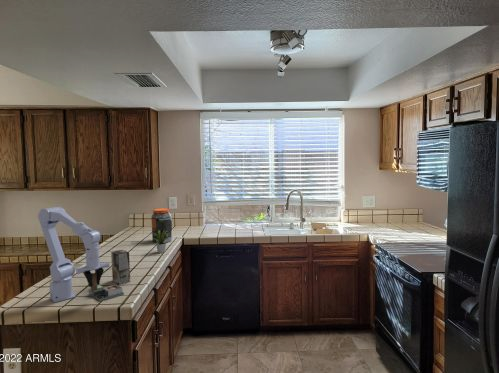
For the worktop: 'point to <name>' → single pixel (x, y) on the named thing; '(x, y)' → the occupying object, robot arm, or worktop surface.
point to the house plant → (161, 241)
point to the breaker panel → (107, 293)
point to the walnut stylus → (94, 281)
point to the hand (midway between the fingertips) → (94, 285)
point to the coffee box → (120, 266)
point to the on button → (98, 288)
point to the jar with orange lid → (161, 223)
